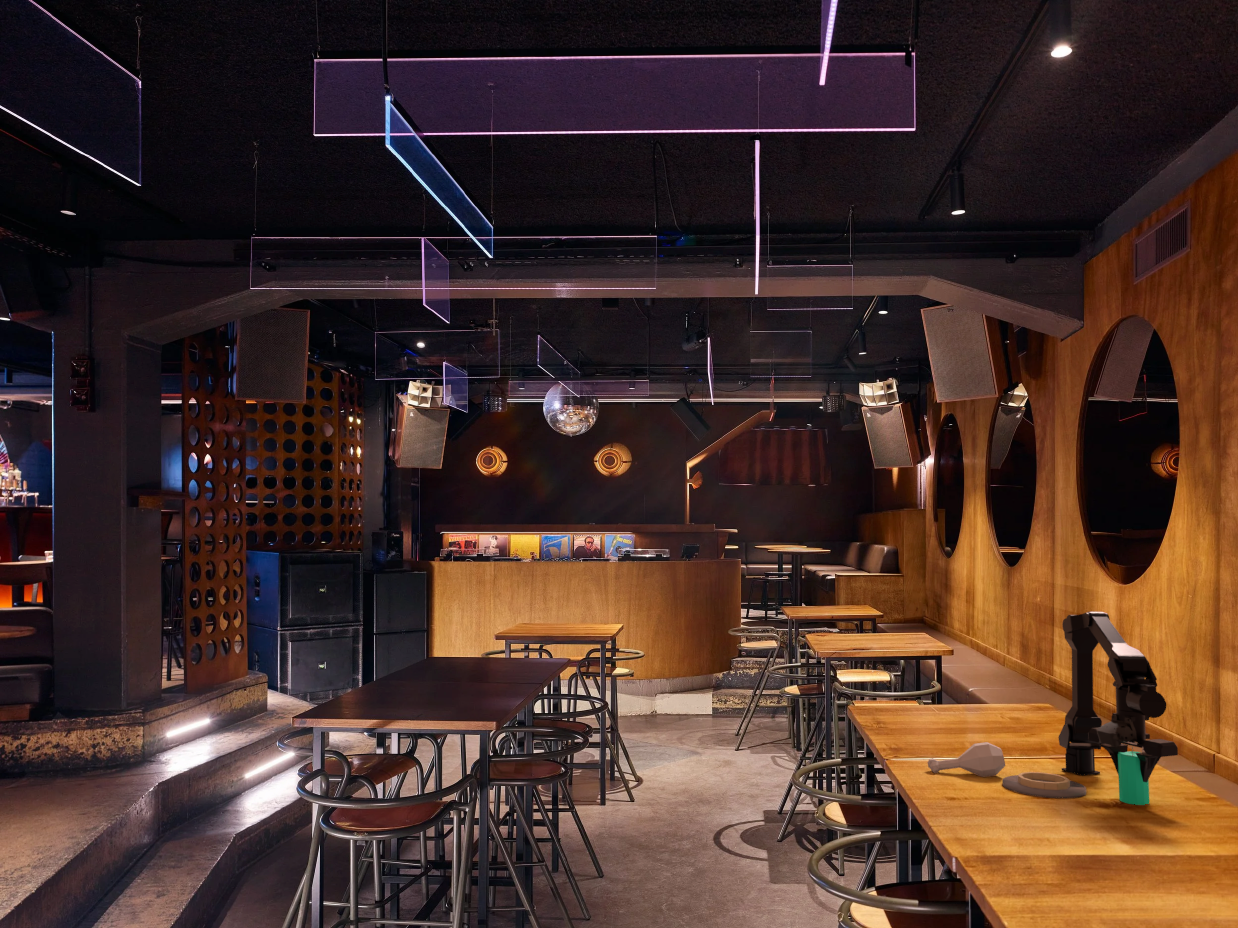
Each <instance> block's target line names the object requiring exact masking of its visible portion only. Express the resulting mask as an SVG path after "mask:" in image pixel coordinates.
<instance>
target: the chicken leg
mask: <svg viewBox="0 0 1238 928" xmlns="http://www.w3.org/2000/svg"><path fill="white" fill-rule="evenodd" d="M927 766H928V768H929V769H930V771H931V772H933V773H934V774H937V773H939V772H940V771H945V770H951V769H960V768H961V769H962V770H965V771H967V772H969V773H971V774H974V775H977V776H978V777H980V778H981V777H982V778H987V777H994V776H995V777H996V776H997V775H998V774H999V772H1001V771H1002V770H1003V769H1004V768H1005V767H1006V761H1005V756H1004V753H1003V750H1002V748H1001V747H998V746H997V745H995V744H992V743H990V742H988V741H986V742H978V743H973V744H972V745H970V746H969V748H968V749H966V750H965V751H964V752H963V753H962V754H961V755H959V756H958V757H957V758H948V759H943V760H941V759H940V760H937V759H935V758H934V757H933V758H929V759H928V761H927Z"/></svg>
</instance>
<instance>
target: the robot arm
mask: <svg viewBox="0 0 1238 928" xmlns="http://www.w3.org/2000/svg"><path fill="white" fill-rule="evenodd" d="M1062 630H1063V632H1064V633H1063V635H1064V639H1065V641H1066V643H1067V644H1068V645H1069V647H1070V648H1071V702H1072V703H1071V707H1070V709H1069V710H1068V711H1067V713H1066V714H1065V717H1064V723H1063V726H1062V728H1061V730H1060V732H1059V735H1058V743H1059V746H1060V747H1062V748H1064V749H1065V758H1064V759H1065V767H1063V768H1061V771H1063V772H1067V773H1070V774H1074V775H1079V776H1082V777H1083V776H1091V775H1100V774H1101V771H1098V770H1096V769H1095V767H1096V766H1095V764H1096V763H1095V760H1096V759H1095V750H1099V751H1100V750H1101V749H1102V748H1103V749H1104V750H1106V751H1107V753H1108V754H1109V756H1110V757H1111V760H1112V763H1113V766H1114V768H1115V770H1116V773H1117V776H1118V777H1119V774H1118V752H1128V748H1129V746H1131V747H1137V748H1141V749H1142V750H1141V753H1136V755H1137V756H1138V758H1139V759H1140V771H1141V775H1142V779H1143V782H1147V781H1148V779H1149V780H1150V777H1151V775H1152V774H1153V771H1154V769H1155V767H1156V766H1157V764H1158V763H1159V761H1160V759H1161V758H1164V757H1174V756H1179V752H1178V751H1179V749H1178V748H1179V747H1178V745H1177V744H1176V742H1174V741H1170V740H1166V739H1162V738H1155V739H1151V734H1150V733H1147V732H1146V721H1150V719H1155V718H1156V719H1157V718H1160V717H1161V716H1162V715H1164V713H1165V712H1166V709H1167V701H1166V699H1165V697H1164V696H1163V695H1162V694H1161V693H1159V692H1158V691H1157V687H1158V683H1157V676H1156V675H1155V673H1154V671H1153V669H1152V667H1151V666H1152V665H1151V664H1150V662H1149V660H1148V659H1147V657H1146V656H1145V655H1144V654H1143V652H1141V651H1140V650H1139V649H1138V648H1135V647H1133V646H1130V645H1129V644H1128V643H1127V642H1126V641H1125V640H1124V638H1123V636H1122V635H1121V633H1119V631H1118V630H1117V628H1116V627H1115V626H1114V624H1113V623H1112V622H1111V620H1110V616H1109V614H1108V613H1107V612H1104V611H1087V612H1084V613H1081V614H1080V613H1079V614H1068V615H1067V616H1066V618H1064V619H1063V621H1062ZM1098 645H1100V646H1101V648H1102V649H1103V651H1104V652H1105V654H1106V656H1107V658H1108V661H1107V667H1108V670H1109V673H1110V674H1111V677H1112V678H1113V680H1114V681H1113V682H1112V687H1115V711H1116V712H1113V713H1112V714H1111V720H1110V721H1109V722H1106V723H1104V724H1103V721H1102V718H1101V717H1100V716H1098V714H1097V712H1096V711H1095V709H1094V656H1093V655H1094V650H1095V649H1096V647H1097V646H1098ZM1102 724H1103V725H1102Z"/></svg>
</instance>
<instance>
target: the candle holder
mask: <svg viewBox="0 0 1238 928" xmlns="http://www.w3.org/2000/svg"><path fill="white" fill-rule="evenodd" d="M1001 782H1002V786H1003V787H1004V788H1005V789H1006V790H1009V791H1011V792H1015V793H1018V794H1022V795H1027V796H1032V797H1037V798H1038V797H1039V798H1048V799H1050V798H1051V799H1075V798H1081V797H1084V796H1086V795H1087V786H1085V785H1084V784H1081V783H1080V782H1077V781H1073V780H1070V779H1069V778H1067V777H1066V776H1064V775H1059V774H1056V773H1048V772H1042V771H1041V772H1039V771H1036V772H1035V771H1027V772H1020V773H1019V774H1015V775H1010V776H1005V777H1003V778H1002V781H1001Z"/></svg>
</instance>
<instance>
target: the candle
mask: <svg viewBox="0 0 1238 928" xmlns="http://www.w3.org/2000/svg"><path fill="white" fill-rule="evenodd" d="M1136 753H1142V751H1141V752H1140V751H1135V750H1134V746H1131V750H1130V751H1127V752H1118V773H1117V775H1118V774H1119V776H1118V794H1119V795H1118V796H1119V797H1118V798H1119V801H1121V802H1122V803H1125V804H1128V805H1134V804H1135V805H1136V806H1146V805H1145V804H1148V805H1150V803H1149V802H1150V781H1149V780H1150V778H1149V779H1148V781H1147V782H1143V779H1142V775H1141V771H1140V759H1139V758H1138V756H1137V755H1136Z"/></svg>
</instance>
